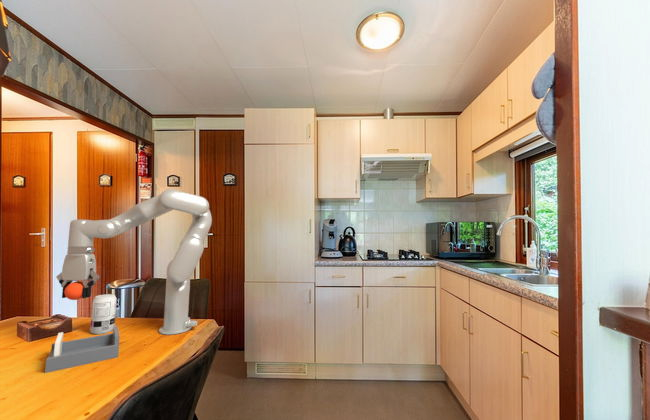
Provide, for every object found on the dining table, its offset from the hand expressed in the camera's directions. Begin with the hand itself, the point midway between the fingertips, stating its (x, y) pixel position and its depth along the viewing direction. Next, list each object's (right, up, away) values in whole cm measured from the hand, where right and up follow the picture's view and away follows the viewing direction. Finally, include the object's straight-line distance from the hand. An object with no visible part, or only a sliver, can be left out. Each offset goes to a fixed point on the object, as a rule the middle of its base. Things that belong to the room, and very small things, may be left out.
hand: (76, 297), depth 108 cm
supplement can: (0, -19, +12) cm, 23 cm away
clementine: (0, -1, 0) cm, 1 cm away
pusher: (+8, -16, -15) cm, 23 cm away
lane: (+13, -17, -11) cm, 24 cm away
